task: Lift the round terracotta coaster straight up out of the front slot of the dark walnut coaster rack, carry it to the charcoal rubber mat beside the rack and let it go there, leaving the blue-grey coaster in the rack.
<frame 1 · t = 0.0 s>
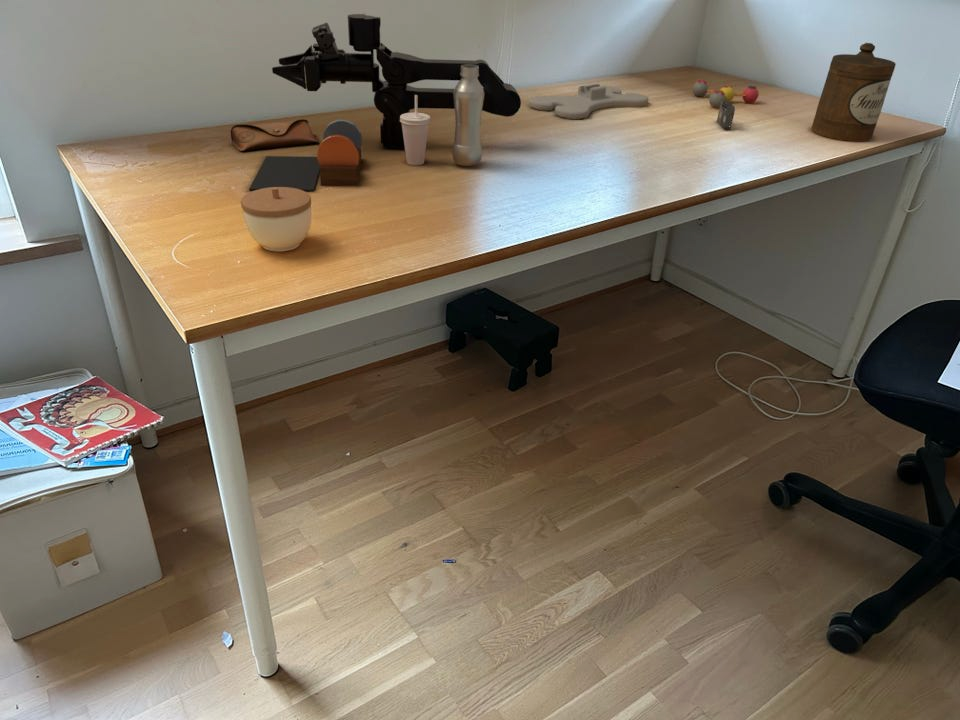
hand: (275, 65, 155), 17 cm above the table, tool horizontal, fingers open, 9 cm apart
blue-grey coaster: (342, 139, 152), point 5 cm above the table, touching coaster rack
wooden container: (840, 134, 191), on the table
sunglasses case: (276, 144, 164), on the table
coaster rack: (342, 172, 150), on the table
grey mat: (288, 173, 148), on the table
trinket box: (281, 245, 119), on the table
smoothie: (415, 163, 157), on the table
terracotta coaster: (338, 156, 142), point 5 cm above the table, touching coaster rack
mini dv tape: (723, 126, 193), on the table
holder: (589, 105, 206), on the table
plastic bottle: (466, 165, 157), on the table
molecule model: (727, 103, 215), on the table
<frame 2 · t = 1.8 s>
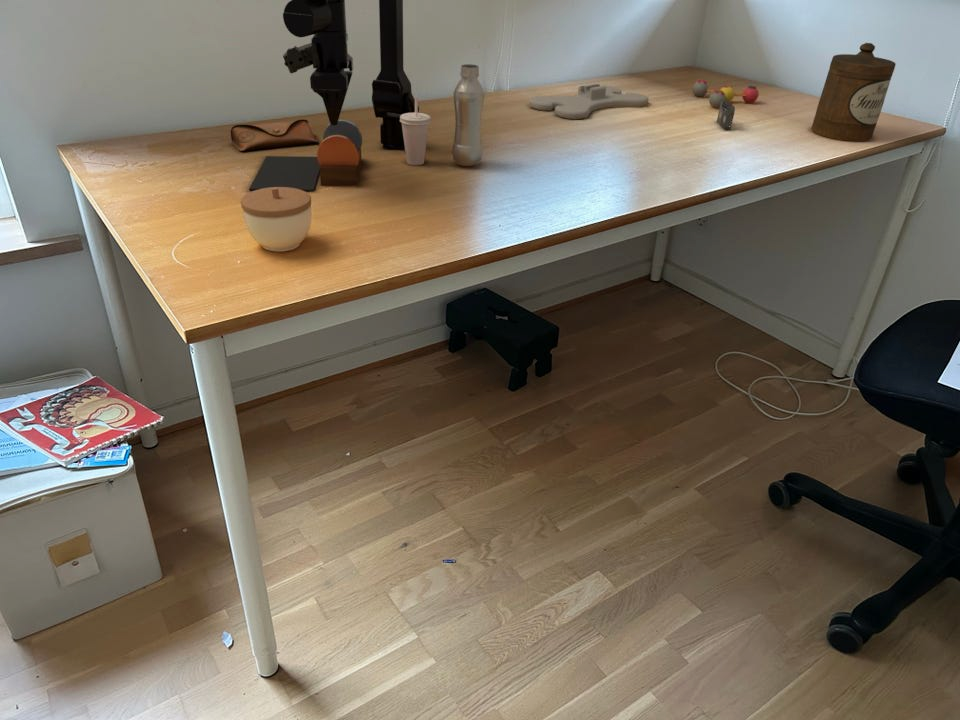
hand: (335, 118, 139), 12 cm above the table, tool pointing down, fingers open, 9 cm apart
nothing on the table moved.
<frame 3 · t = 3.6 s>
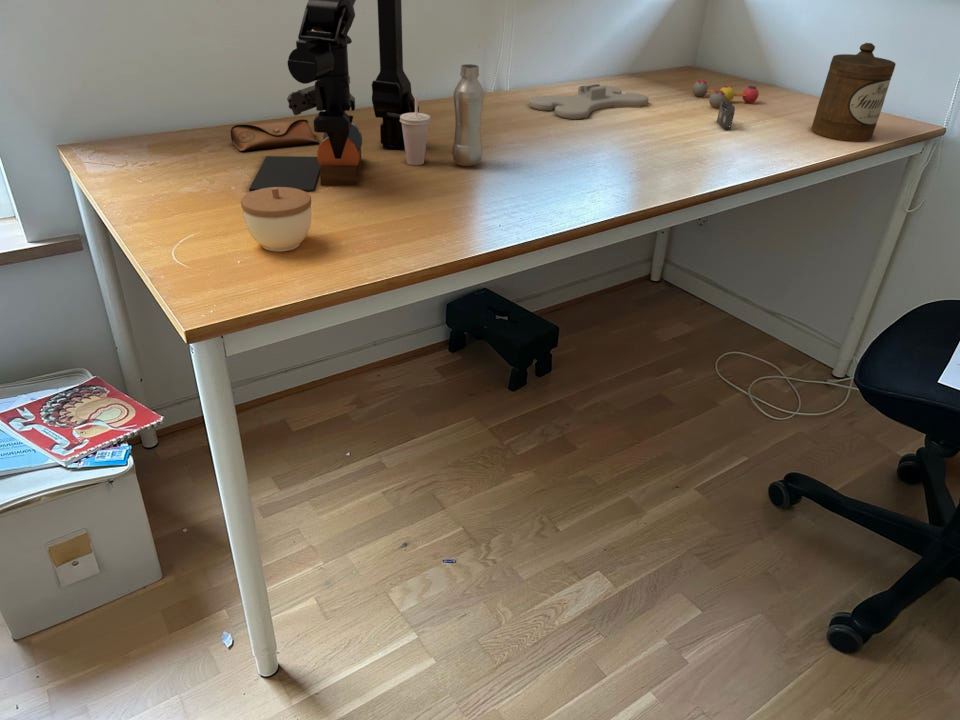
hand: (338, 157, 143), 5 cm above the table, tool pointing down, fingers closed on terracotta coaster, 1 cm apart
terracotta coaster: (338, 156, 142), point 5 cm above the table, touching coaster rack, gripper
everything else where it was.
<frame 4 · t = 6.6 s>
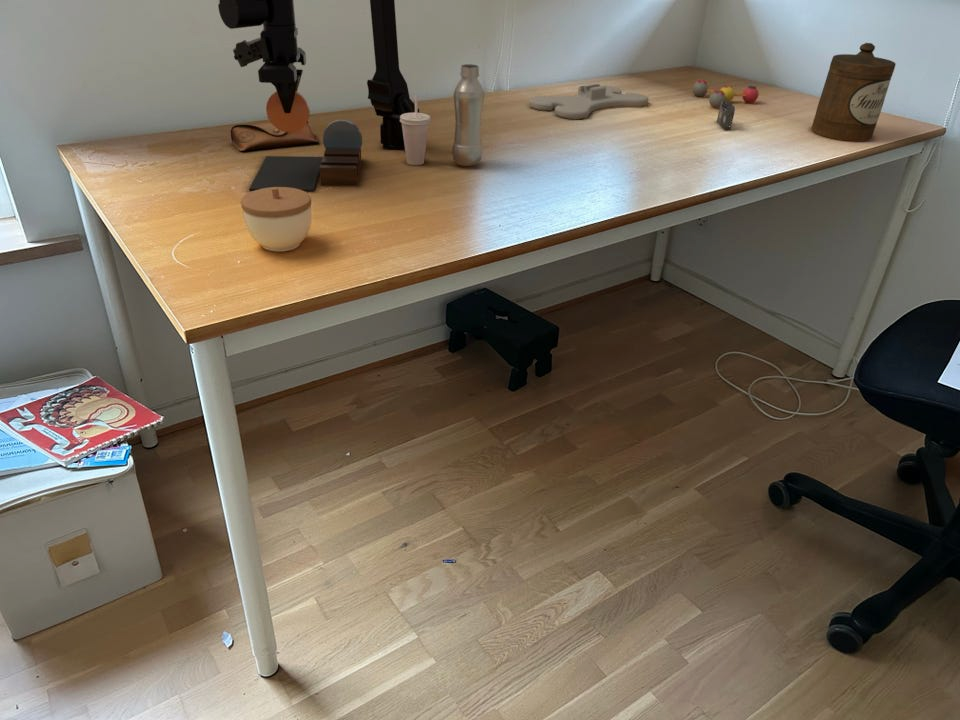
hand: (288, 111, 141), 12 cm above the table, tool pointing down, fingers closed on terracotta coaster
terracotta coaster: (288, 110, 141), point 13 cm above the table, touching gripper
everything else where it was.
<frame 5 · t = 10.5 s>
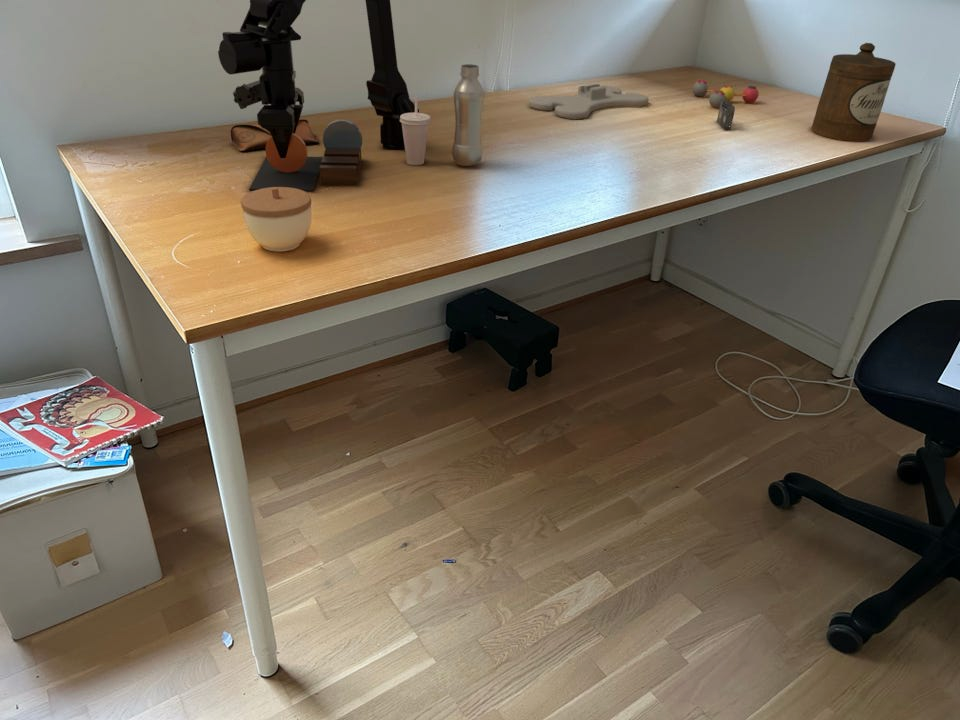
hand: (286, 150, 145), 5 cm above the table, tool pointing down, fingers open, 9 cm apart
terracotta coaster: (286, 152, 145), point 4 cm above the table, touching grey mat
everything else where it was.
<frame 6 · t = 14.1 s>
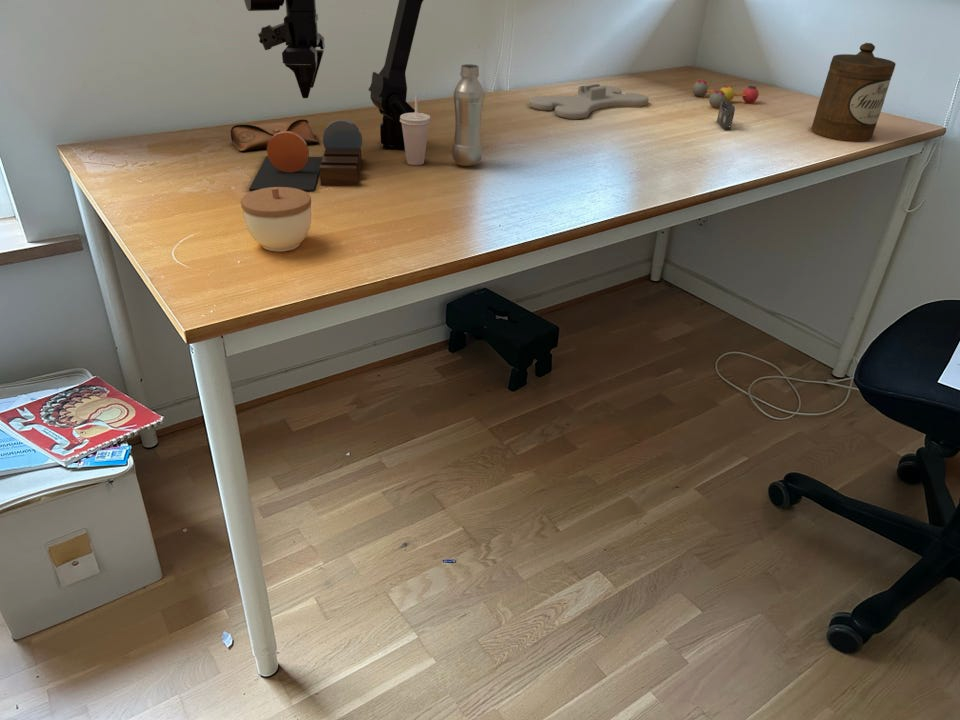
hand: (308, 92, 151), 13 cm above the table, tool pointing down, fingers open, 9 cm apart
nothing on the table moved.
at the end: terracotta coaster inside the target area on the grey mat (0.3 cm from its centre), point 4.4 cm above the grey mat's base; the gripper is holding nothing; blue-grey coaster moved 0.1 cm from its start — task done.
